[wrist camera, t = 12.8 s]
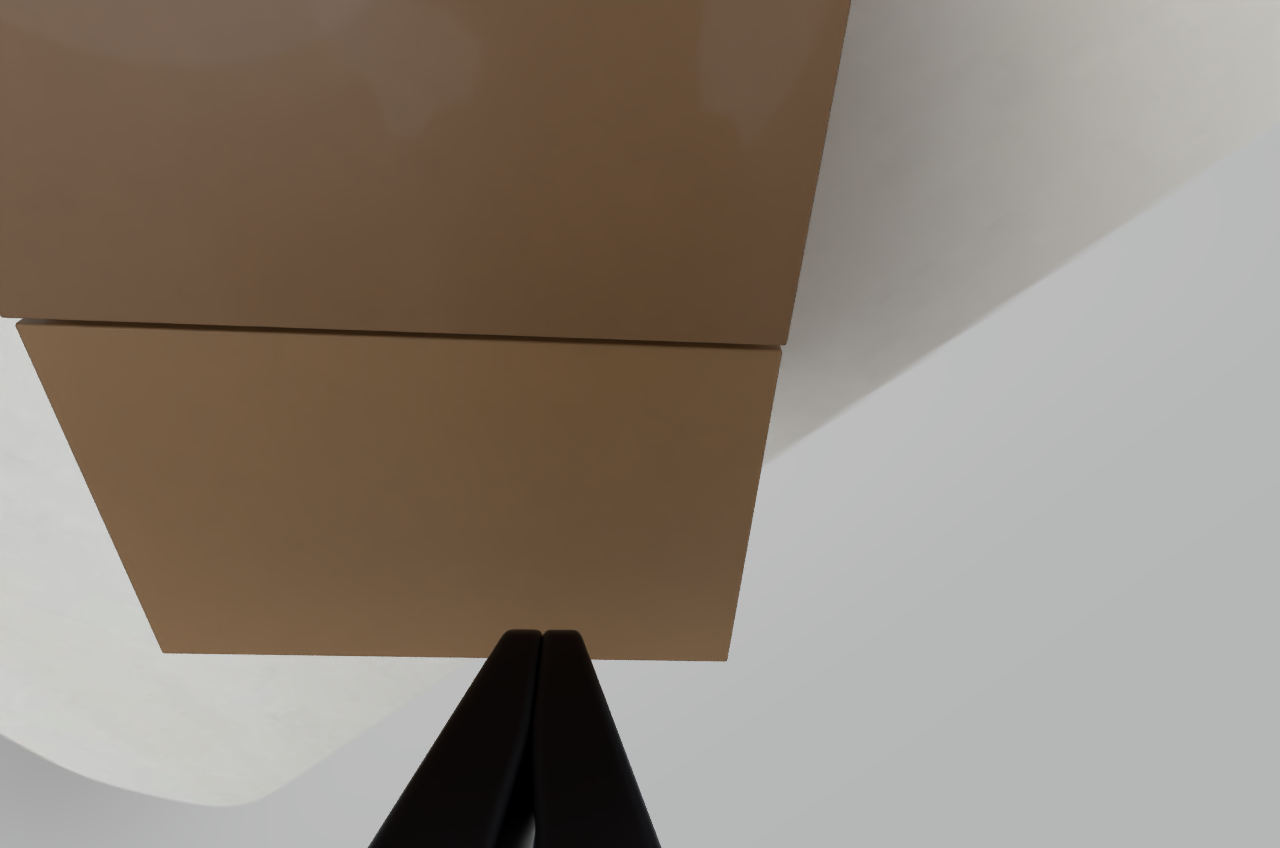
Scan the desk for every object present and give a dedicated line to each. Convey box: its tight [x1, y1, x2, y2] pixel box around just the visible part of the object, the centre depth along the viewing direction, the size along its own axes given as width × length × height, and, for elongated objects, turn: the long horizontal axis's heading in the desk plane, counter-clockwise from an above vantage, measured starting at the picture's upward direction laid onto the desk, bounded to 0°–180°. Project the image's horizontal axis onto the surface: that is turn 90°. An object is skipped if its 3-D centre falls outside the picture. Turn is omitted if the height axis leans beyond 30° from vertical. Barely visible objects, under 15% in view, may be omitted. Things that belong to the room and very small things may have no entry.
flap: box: [16, 318, 782, 661], centre depth 12 cm, size 6×10×1 cm, turn 87°
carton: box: [0, 0, 851, 345], centre depth 14 cm, size 13×10×10 cm
